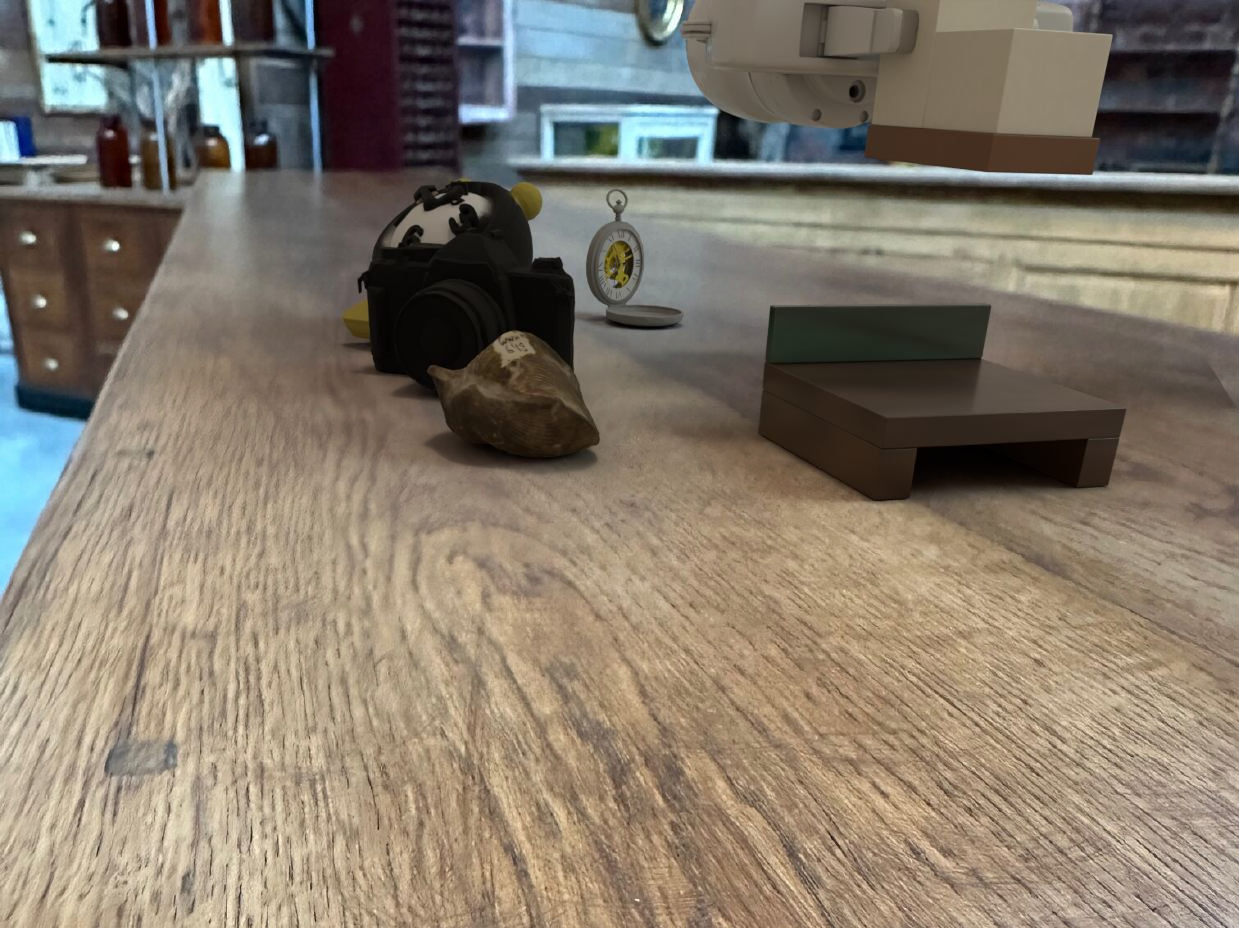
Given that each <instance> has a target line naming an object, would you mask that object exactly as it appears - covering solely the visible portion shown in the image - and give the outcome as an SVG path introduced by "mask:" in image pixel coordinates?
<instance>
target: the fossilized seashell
mask: <svg viewBox="0 0 1239 928" xmlns="http://www.w3.org/2000/svg"><path fill="white" fill-rule="evenodd" d="M427 372H428V374H429V375H430V376H432V378H433V382H434V384H435V387H436V389H437V391H436V392H437V394H438V397H439V403H440V405H441V406H440V407H441V409H442V412H443V415H444V420H445V424H446V425H447V427H448V429H449V430H450V431H451V432H452V433H453V434H455V435H456V436H457V437H459V438H460V439H462V440H465V441H467V442H469V443H472V444H479V445H483V444H485V445H486V444H487V445H491V446H492V447H494V448H495V449H497V450H500V451H504V452H506V453H507V454H509V455H517V456H521V457H524V458H533V459H534V458H556V457H561V456H566V455H569V454H573V453H576V452H580V451H583V450H585V449H587V448H591V447H594V446H598V445H599V444H600V441H601V436H600V431H599V429H598V427H597V424H596V423H595V420H594V418H593V415H592V414H591V411H590V410H589V408H588V407H587V405H586V403H585V400H584V398H583V393H582V390H581V384H580V382H579V379H578V377H577V375H576V373H575V371H574V372H573V370H572V369H571V367H570V366H569V365H568V364H567V363H566V362H565V361H563V360H562V359H561V358H560V356H559V355H558V354H557V352H555V351H554V350H553V349H552V348H551V347H550V346H549V345H548V344H547V343H546V342H545V341H542V340H541V339H539V338H538V337H536V336H535V335H533V334H531V333H527V332H519V331H510V332H507V333H505V334H503V335H501V336H500V337H499V338H498V339H496V340H495V341H494V342H493V343H492V344H491V345H490V346H488V347H487V348H486V349H485V350H484V351H482V352H481V353H480V354H479V355H478V356H476V357H475V358H474V359H473V360H472V361H471V362H470V363H469V364H468V365H467V367H466V368H463V369H461V370H448V369H445V368H442V367H439V366H436V365H432V366H429V368H428V370H427Z"/></svg>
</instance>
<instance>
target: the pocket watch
mask: <svg viewBox="0 0 1239 928" xmlns="http://www.w3.org/2000/svg"><path fill="white" fill-rule="evenodd" d="M614 192H618V193H620V194H621V195H622V196H623V197H624V204H622V203H623V202H622V200H621V199H617V200H615V205H613V204H612V203H611V201H610V197H611V194H612V193H614ZM605 196H606V197H605V201H606V204H607V205H608V207H609V208H610V209H612V212H613V213H614V214H615V215H614V216H615V217H614V221H611V222H607V223H605V224H603V225H602V226H600V228H598V230H597V231H596V232H595V234H594V235H593V237H592V239H591V241H590V243H589V246H588V250H587V254H586V260H585V275H586V280H587V284H588V287H589V290H590V292H591V294H592V295H593V297H594V298H595V299H596V300H597V301H598V302H600V303H601V304H603V305H605V306H607V307H606V308H605V316H606V317H607V319H608V320H610V321H613V322H615V323H619V324H622V325H623V326H626V325H628V326H637V327H638V326H639V327H644V328H646V327H647V328H649V327H667V326H671V325H676V324H679V323H681V322H682V321H683V319H684V315H685V314H684V313H685V312H684V311H683V310H681V309H679V308H674V307H669V306H661V305H652V304H627V303H628V302H629V301H630V300H632V298H633V297H634V296H635V294H636V292H637V291H638V290H639V286H640V284H641V282H642V278H643V274H644V269H645V250H644V244H643V242H642V239H641V236H640V234H639V232H638V231H637V230H636V228H635V227H634V225H632V224H631V223H629V222H627V221H622V214H623V213H624V212H625V209H626V208H627V206H628V203H629V198H628V195H627V193H626V192H625V191H624V190H623V189H621V188H616V187H615V188H611V189H610V190H609V191H608V192H607V193H606V195H605ZM610 271H612V272H610ZM608 279H610V280H612V281H613V286H612V285H611V284H610V283H609V282H608ZM615 281H616V282H617V283H616V284H615Z"/></svg>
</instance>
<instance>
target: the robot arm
mask: <svg viewBox="0 0 1239 928" xmlns="http://www.w3.org/2000/svg"><path fill="white" fill-rule="evenodd" d="M886 8H887V0H695V2H694V3H693V5H692V7H691V9H690V12H689V15H688V18H687V20H683V21H682V22H681V26H680V27H679V32H680V34H681V35H680V38H681V39H682V40H685V53H686V60H687V64H688V68H689V72H690V74H691V77H692V79H693V81H694V83H695V85H696V87H697V88H698V90H699V92H701V94H702V95H703V96H704V98H705V99H707V100H708V101H709V102H710V103H711V104H712V105H713V106H715V107H716V108H718V109H719V110H721V111H723V112H725V113H728V114H730V115H732V116H735V117H737V118H739V119H744V120H748V121H752V122H756V123H757V122H758V123H764V124H765V123H766V124H784V123H787V124H791V125H793V126H800V127H811V128H812V127H813V128H824V129H825V128H826V129H836V130H837V129H838V130H840V129H851V128H854V127H857V126H860V125H863V124H865V123H872V118H873V111H874V103H875V95H876V87H877V79H878V71H879V63H880V55H881V54H882V53H887V54H909V53H911V52H913V50H914V48H915V45H916V39H917V34H916V30H917V29H918V25H919V14H918V12H917V11H915V10H904V9H894V8H887V9H886ZM1033 29H1039V30H1053V31H1068V32H1074V31H1073V30H1074V14H1073V11H1072V10H1071V9H1070V8H1069V7H1068V6H1066V5H1062V4H1060V3H1055V2H1049V1H1042V0H1038V4H1037V9H1036V15H1035V20H1034V26H1033Z"/></svg>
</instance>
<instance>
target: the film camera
mask: <svg viewBox="0 0 1239 928" xmlns="http://www.w3.org/2000/svg"><path fill="white" fill-rule="evenodd" d="M503 236H504V233H503V231H502V230H493V231H488V232H487V233H477V228H469V229H465V230H464V234H462V233H460V234H459V235H457V236H456V237H454V238H453V239H452V240H450V241H449V242H448V243H446V244H437V243H419V242H414V243H413V244H412V245H410V246H408V245H407V243H406V242H405V243H398V247H382V248H380V257H379V258H376V259H374V260H373V261H372V260H371V261H370V262H369V266H368V269H367V270H366V271H363V272H362V273H361V274H360V276H359V277H358V278H357V291H358V295H360V294H361V293H363V286H364V289H365V290H366V299H367V301H368V318H369V329H370V340H369V346H370V354H371V357H372V362H373V364H374V368H375V369H376V370H378V371H382V372H387V373H399V374H406V375H407V376H408V377H409V378H411V379H412V380H413V381H414V382H416V383H417V384H418V385H420V386H421V387H422V388H425V389H427V390H430V391H436V392H437V389H436V387H435V384H434V382H433V378H432V376H430V375H429V374H428V372H427V370H428V368H429V366H432V365H436V366H439V367H442V368H445V369H448V370H461V369H463V368H466V367H467V365H468V364H469V363H470V362H471V361H472V360H473V359H474V358H475V357H476V356H478V355H479V354H480V353H481V352H482V351H484V350H485V349H486V348H487V347H488V346H490V345H491V344H492V343H493V342H494V341H495V340H496V339H498V338H499V337H500V336H501V335H503V334H505V333H507V332H510V331H519V332H527V333H531V334H533V335H535V336H536V337H538V338H539V339H541V340H542V341H545V342H546V343H547V344H548V345H549V346H550V347H551V348H552V349H553V350H554V351H555V352H557V354H558V355H559V356H560V358H561V359H562V360H563V361H565V362H566V363H567V364H568V365H569V366H570V367H571V369H572V370H573V372H574V373H575V364H574V361H575V360H574V359H575V358H574V357H575V346H574V345H575V344H574V333H575V323H576V316H575V315H576V313H575V312H576V311H575V310H576V289H575V283H574V278H573V277H572V275H570V274H569V273H568V272H566V269H564V263H563V260H562V258H561V256H557V257H542V256H539V257H535V258H533V262H532V266H531V267H521V265H520V263H519V261H518V259H517V258H516V256H515V254H514V253H513V252H512V251H511V250H510V249H509V247H508V246H507V245H506V243H505V242H504V240H503Z"/></svg>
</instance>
